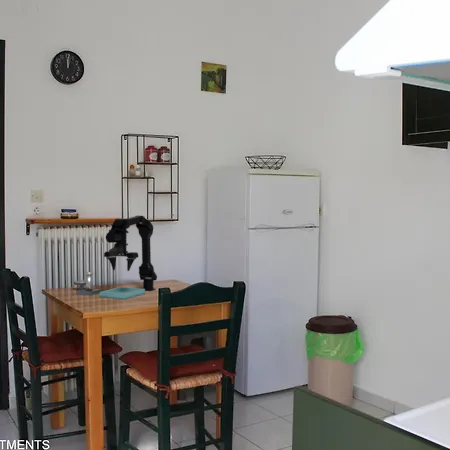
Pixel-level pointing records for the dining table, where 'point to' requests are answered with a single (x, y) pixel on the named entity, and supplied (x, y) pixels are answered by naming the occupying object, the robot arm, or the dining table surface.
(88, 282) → the pin
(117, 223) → the robot arm
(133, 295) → the tray
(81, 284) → the silver round knob
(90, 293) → the pin collar
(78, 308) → the dining table surface
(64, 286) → the dining table surface
